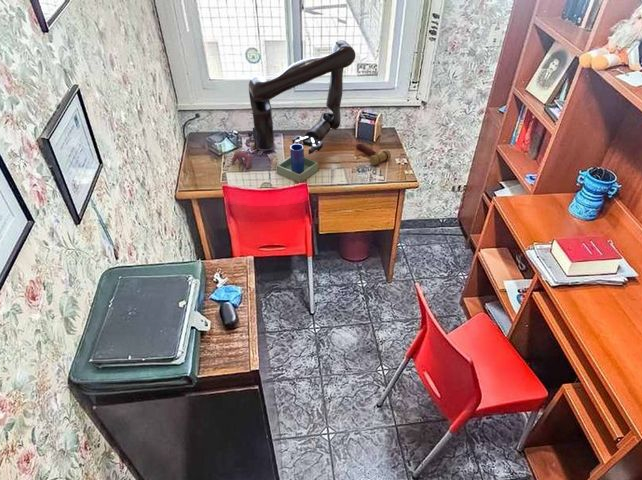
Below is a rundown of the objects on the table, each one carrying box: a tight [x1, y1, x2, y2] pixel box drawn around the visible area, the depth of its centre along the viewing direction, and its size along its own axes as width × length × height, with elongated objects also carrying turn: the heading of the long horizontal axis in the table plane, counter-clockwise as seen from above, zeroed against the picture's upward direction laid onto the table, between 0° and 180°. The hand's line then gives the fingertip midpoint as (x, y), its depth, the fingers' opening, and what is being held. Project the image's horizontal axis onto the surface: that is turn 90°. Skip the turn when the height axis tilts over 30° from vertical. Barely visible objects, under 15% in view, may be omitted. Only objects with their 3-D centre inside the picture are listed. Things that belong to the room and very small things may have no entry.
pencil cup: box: [289, 143, 305, 174], centre depth 217 cm, size 6×6×12 cm
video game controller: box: [231, 150, 254, 169], centre depth 223 cm, size 10×5×7 cm, turn 65°
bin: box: [275, 155, 319, 184], centre depth 220 cm, size 14×14×4 cm
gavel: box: [355, 143, 392, 166], centre depth 233 cm, size 21×5×10 cm
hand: (301, 149), depth 218 cm, fingers open, 8 cm apart
